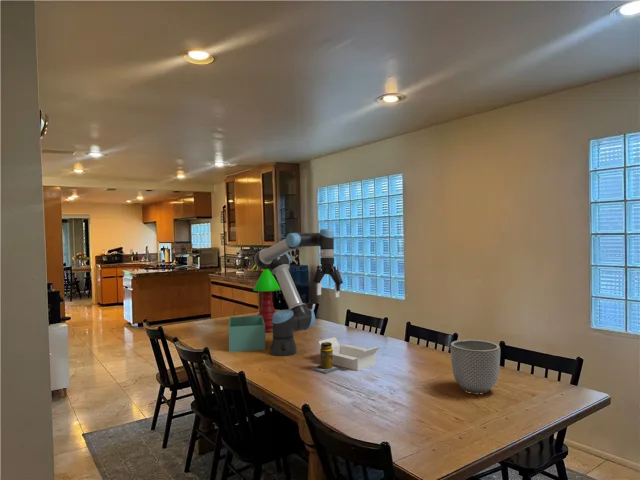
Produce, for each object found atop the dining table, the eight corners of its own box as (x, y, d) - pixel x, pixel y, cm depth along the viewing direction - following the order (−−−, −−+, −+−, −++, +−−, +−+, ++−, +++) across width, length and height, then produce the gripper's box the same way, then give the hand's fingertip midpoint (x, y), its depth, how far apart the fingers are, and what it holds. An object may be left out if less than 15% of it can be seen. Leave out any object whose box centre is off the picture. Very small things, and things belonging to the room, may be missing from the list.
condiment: (336, 368, 217) (336, 343, 217) (322, 371, 213) (321, 346, 213) (327, 364, 224) (327, 340, 223) (313, 367, 219) (313, 343, 219)
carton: (313, 361, 232) (313, 342, 232) (339, 353, 247) (339, 335, 247) (359, 373, 211) (358, 352, 210) (384, 364, 225) (384, 344, 225)
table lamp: (257, 326, 325) (256, 265, 325) (284, 326, 322) (283, 265, 322) (250, 332, 306) (248, 267, 305) (278, 332, 303) (276, 266, 302)
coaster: (311, 369, 218) (311, 368, 218) (325, 365, 225) (325, 363, 225) (325, 373, 211) (325, 372, 211) (339, 369, 218) (339, 367, 218)
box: (229, 352, 255) (228, 327, 255) (230, 339, 286) (229, 317, 286) (265, 350, 258) (265, 325, 258) (262, 337, 290) (262, 315, 290)
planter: (495, 402, 172) (495, 353, 172) (445, 393, 182) (444, 347, 182) (504, 387, 189) (504, 342, 188) (457, 379, 199) (457, 337, 199)
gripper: (306, 256, 248) (307, 294, 249) (339, 257, 231) (340, 298, 231) (316, 256, 254) (316, 293, 254) (348, 257, 236) (349, 297, 236)
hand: (327, 296), depth 242 cm, fingers open, 13 cm apart
